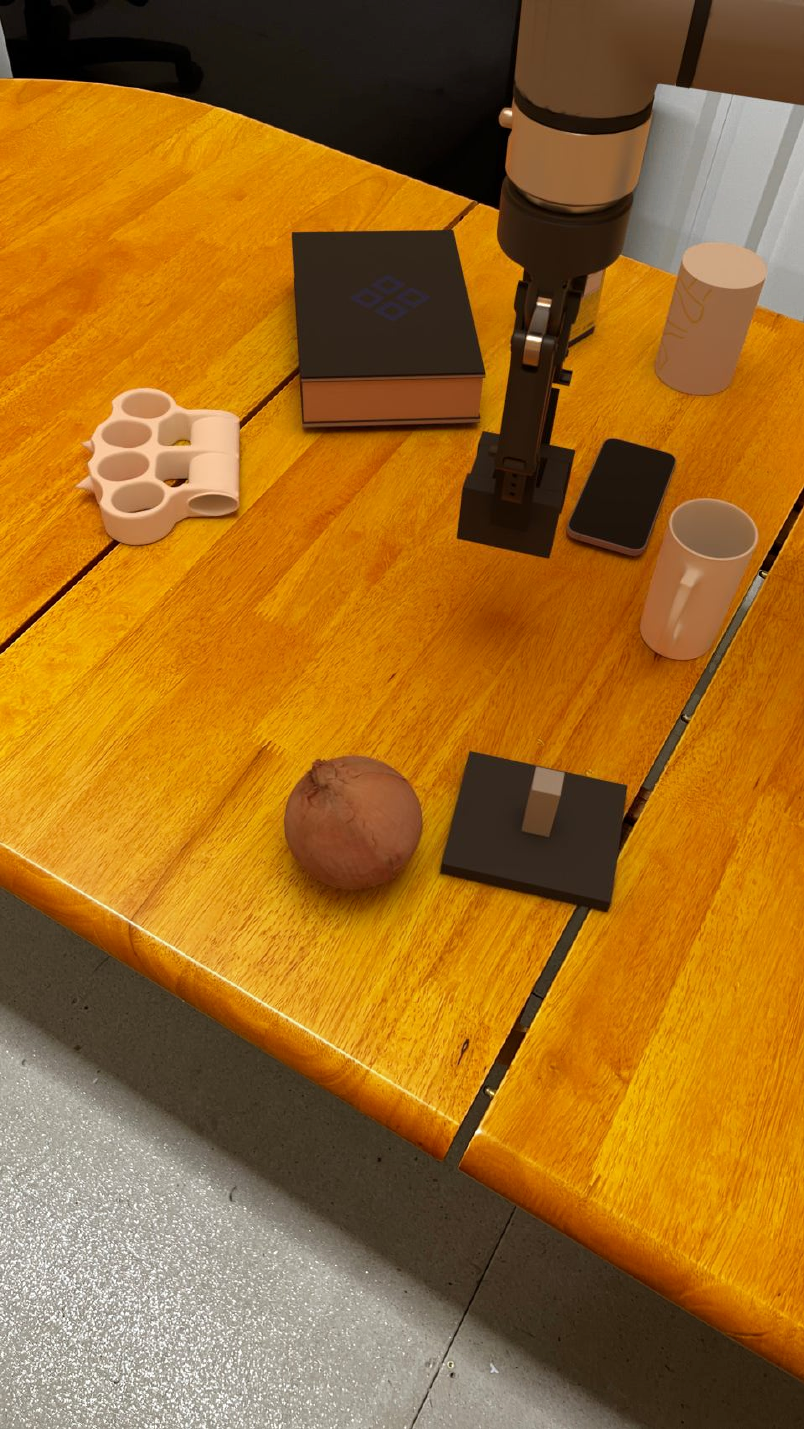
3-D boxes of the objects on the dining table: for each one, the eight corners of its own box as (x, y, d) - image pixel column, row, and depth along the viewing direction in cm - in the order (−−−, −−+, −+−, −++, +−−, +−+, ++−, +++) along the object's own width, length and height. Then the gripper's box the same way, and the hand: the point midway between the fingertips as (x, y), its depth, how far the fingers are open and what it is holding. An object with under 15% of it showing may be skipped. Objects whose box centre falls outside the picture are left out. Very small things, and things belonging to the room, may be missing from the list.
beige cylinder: (650, 345, 118) (677, 239, 108) (726, 350, 118) (760, 244, 108) (658, 392, 113) (687, 286, 103) (737, 397, 113) (773, 291, 103)
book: (302, 435, 106) (299, 376, 101) (293, 288, 121) (291, 231, 116) (479, 429, 108) (486, 372, 103) (449, 286, 123) (453, 229, 118)
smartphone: (679, 455, 106) (643, 553, 97) (676, 464, 107) (640, 562, 98) (605, 435, 107) (564, 529, 98) (603, 444, 108) (562, 539, 99)
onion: (303, 864, 81) (240, 775, 75) (408, 794, 83) (354, 700, 76) (352, 945, 74) (286, 854, 68) (466, 866, 75) (412, 769, 69)
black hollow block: (564, 501, 84) (575, 449, 80) (549, 559, 80) (560, 507, 76) (475, 482, 85) (482, 430, 81) (456, 539, 81) (462, 486, 77)
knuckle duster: (240, 543, 97) (71, 548, 96) (240, 414, 108) (89, 417, 107) (237, 514, 95) (63, 519, 93) (238, 385, 105) (82, 388, 104)
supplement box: (553, 308, 121) (569, 212, 112) (595, 332, 119) (614, 235, 110) (517, 329, 119) (530, 232, 110) (559, 354, 116) (577, 257, 107)
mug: (653, 592, 96) (687, 486, 86) (727, 622, 94) (769, 517, 84) (609, 669, 90) (640, 566, 81) (686, 702, 88) (727, 600, 79)
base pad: (623, 796, 83) (643, 741, 77) (607, 912, 77) (627, 862, 71) (467, 761, 84) (476, 706, 78) (439, 873, 78) (446, 822, 72)
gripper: (535, 96, 68) (496, 402, 87) (466, 259, 57) (437, 573, 75) (655, 115, 67) (590, 421, 86) (609, 285, 56) (545, 596, 74)
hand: (519, 491), depth 81 cm, fingers closed on black hollow block, 7 cm apart
